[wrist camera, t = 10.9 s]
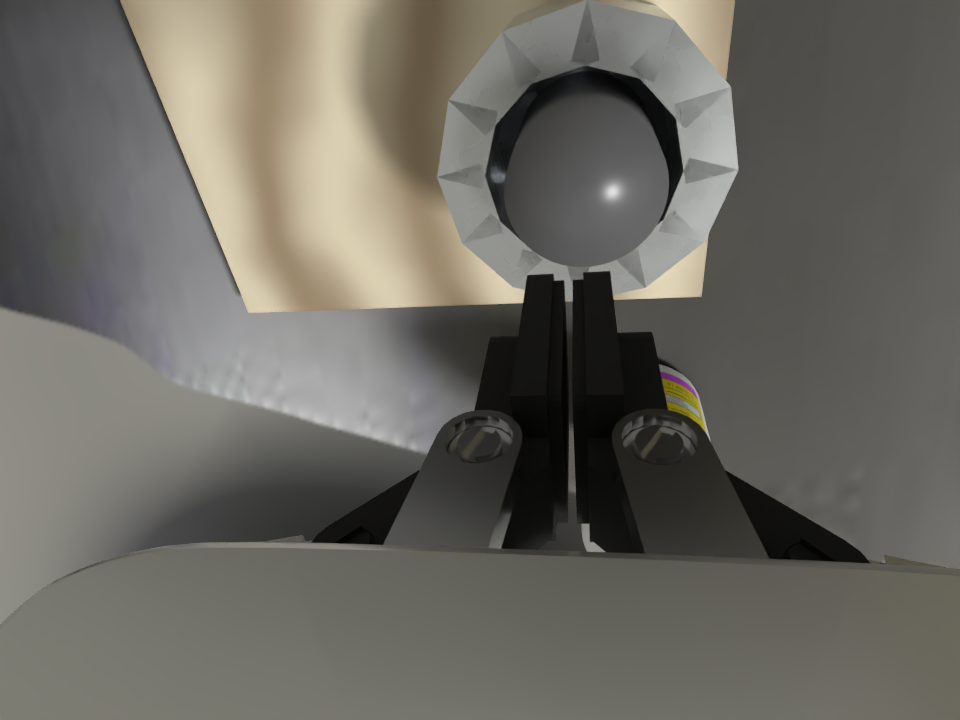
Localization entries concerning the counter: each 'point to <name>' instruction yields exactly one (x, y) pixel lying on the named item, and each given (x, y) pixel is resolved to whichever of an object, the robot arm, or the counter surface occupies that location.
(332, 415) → the counter surface
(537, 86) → the lens barrel
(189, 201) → the counter surface
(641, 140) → the grey rounded canister
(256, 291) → the birch board
